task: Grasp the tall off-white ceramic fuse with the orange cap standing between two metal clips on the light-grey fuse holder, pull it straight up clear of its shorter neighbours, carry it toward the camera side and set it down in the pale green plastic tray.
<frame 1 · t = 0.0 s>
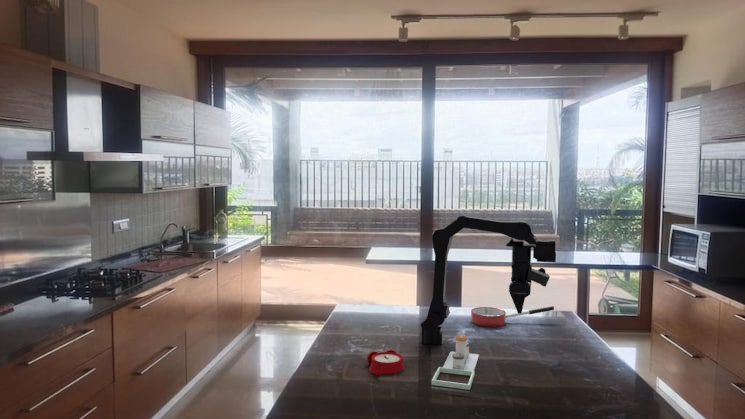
hand: (520, 309, 164), 15 cm above the countertop, fingers open, 9 cm apart
alarm clock: (385, 369, 154), on the countertop
tray: (453, 383, 142), on the countertop
fuse holder: (460, 365, 156), on the countertop
frying pan: (511, 322, 202), on the countertop
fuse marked: (460, 362, 156), point 1 cm above the countertop, touching fuse holder
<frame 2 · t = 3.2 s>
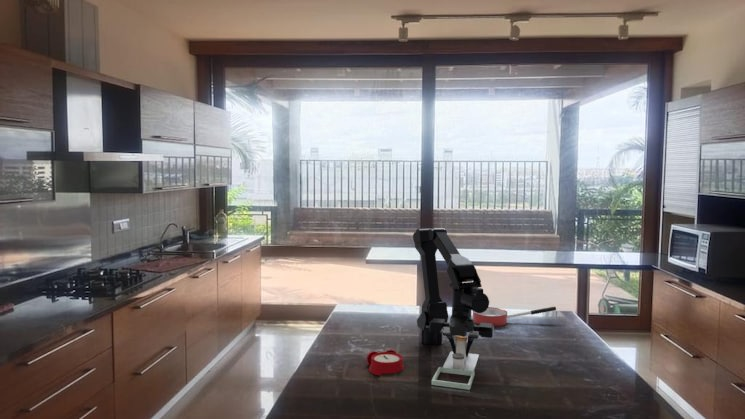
hand: (460, 355, 155), 3 cm above the countertop, fingers closed on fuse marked, 3 cm apart
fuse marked: (460, 362, 156), point 1 cm above the countertop, touching fuse holder, gripper
when the fingers open (4 cm above the countertop, at t = 7.9 s): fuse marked drops 1 cm, resting on tray.
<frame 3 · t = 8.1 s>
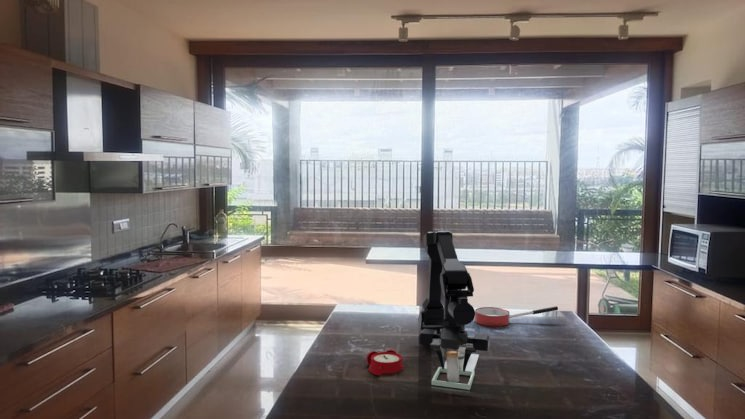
hand: (453, 369, 142), 4 cm above the countertop, fingers open, 5 cm apart
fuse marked: (453, 380, 142), point 1 cm above the countertop, tilted 6°, touching tray
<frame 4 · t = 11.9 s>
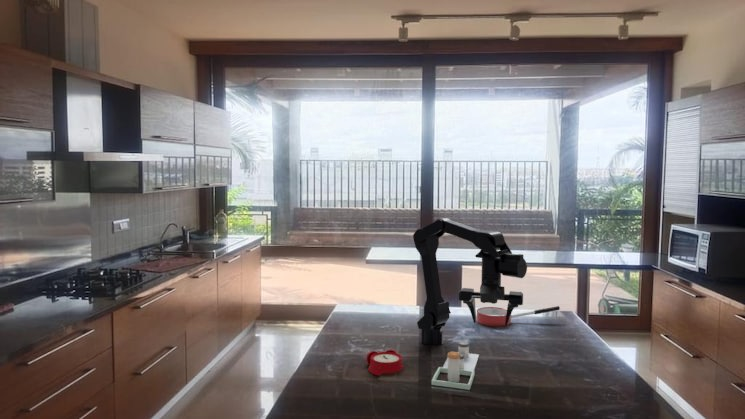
hand: (490, 324, 157), 12 cm above the countertop, fingers open, 9 cm apart
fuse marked: (453, 381, 142), point 1 cm above the countertop, touching tray
at the end: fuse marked inside the target area on the tray (0.0 cm from its centre), point 0.5 cm above the tray's base; the gripper is holding nothing; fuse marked touching tray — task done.
